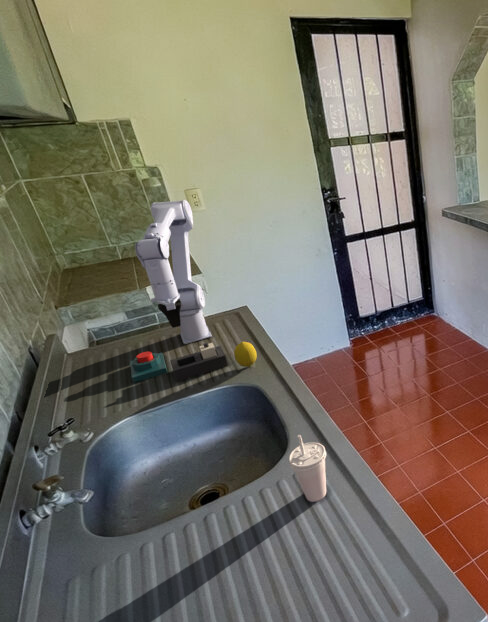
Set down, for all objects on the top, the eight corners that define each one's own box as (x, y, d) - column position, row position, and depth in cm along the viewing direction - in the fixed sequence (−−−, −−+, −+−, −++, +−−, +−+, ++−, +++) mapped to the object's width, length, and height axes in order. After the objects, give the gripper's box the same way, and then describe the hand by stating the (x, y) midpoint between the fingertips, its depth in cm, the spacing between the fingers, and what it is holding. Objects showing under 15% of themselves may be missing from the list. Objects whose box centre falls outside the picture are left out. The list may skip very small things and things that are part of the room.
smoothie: (296, 487, 87) (282, 429, 81) (330, 476, 89) (318, 419, 83) (300, 512, 81) (284, 452, 75) (336, 500, 84) (324, 440, 78)
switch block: (131, 366, 131) (127, 355, 129) (163, 357, 135) (160, 347, 133) (133, 383, 123) (129, 372, 121) (167, 372, 127) (163, 362, 125)
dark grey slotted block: (173, 370, 128) (170, 360, 126) (223, 355, 134) (220, 345, 133) (177, 382, 122) (173, 371, 121) (228, 365, 129) (225, 355, 127)
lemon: (262, 361, 130) (256, 337, 127) (253, 372, 125) (246, 347, 122) (244, 361, 131) (238, 337, 127) (234, 371, 126) (227, 346, 122)
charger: (204, 364, 130) (198, 343, 127) (217, 360, 132) (211, 339, 129) (206, 369, 128) (199, 347, 125) (219, 365, 129) (213, 343, 126)
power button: (138, 359, 128) (135, 354, 127) (152, 355, 130) (150, 350, 129) (138, 364, 125) (136, 359, 124) (153, 360, 127) (151, 355, 126)
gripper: (144, 278, 129) (158, 322, 134) (147, 291, 118) (162, 338, 123) (172, 273, 133) (185, 316, 138) (177, 285, 122) (191, 330, 127)
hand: (176, 326), depth 131 cm, fingers closed
